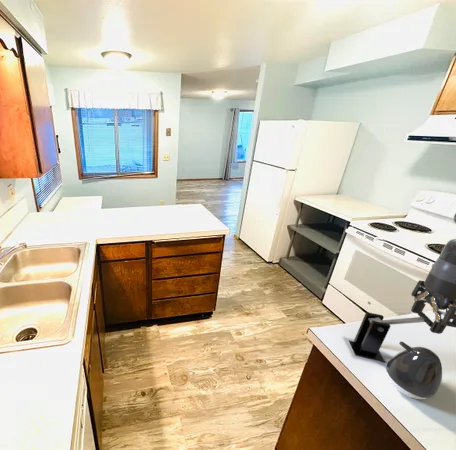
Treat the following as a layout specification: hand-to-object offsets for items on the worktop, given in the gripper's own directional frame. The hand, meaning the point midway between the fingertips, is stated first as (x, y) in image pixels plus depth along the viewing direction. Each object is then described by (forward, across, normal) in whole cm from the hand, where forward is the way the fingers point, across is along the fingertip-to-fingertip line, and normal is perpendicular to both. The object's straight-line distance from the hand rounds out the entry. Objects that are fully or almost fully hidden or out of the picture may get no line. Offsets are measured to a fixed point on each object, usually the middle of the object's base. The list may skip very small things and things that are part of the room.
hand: (424, 321), depth 72 cm
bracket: (+16, 0, +11) cm, 19 cm away
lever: (+3, 0, +5) cm, 6 cm away
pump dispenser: (+16, -11, +5) cm, 20 cm away
